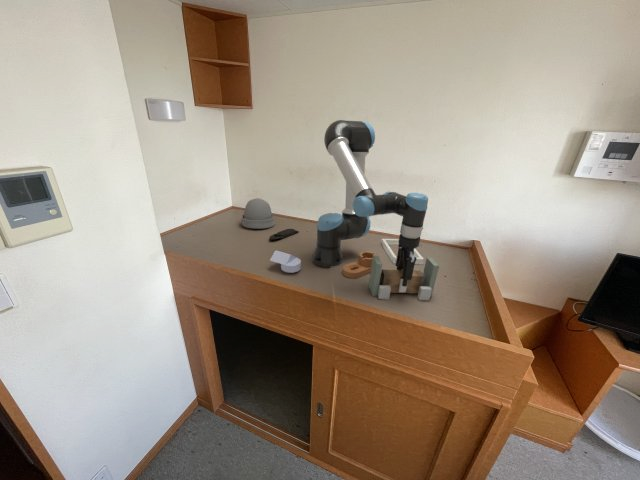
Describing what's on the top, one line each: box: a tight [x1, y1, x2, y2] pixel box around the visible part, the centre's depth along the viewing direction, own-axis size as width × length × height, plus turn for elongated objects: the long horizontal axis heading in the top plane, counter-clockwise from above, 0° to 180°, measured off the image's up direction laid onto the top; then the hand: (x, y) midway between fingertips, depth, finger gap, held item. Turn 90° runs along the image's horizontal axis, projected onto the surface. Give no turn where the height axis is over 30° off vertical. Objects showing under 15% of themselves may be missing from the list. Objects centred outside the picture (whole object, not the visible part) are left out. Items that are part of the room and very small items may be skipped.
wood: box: [269, 228, 300, 241], centre depth 159 cm, size 22×7×3 cm, turn 142°
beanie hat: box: [241, 197, 276, 230], centre depth 173 cm, size 21×21×20 cm
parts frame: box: [380, 238, 425, 265], centre depth 145 cm, size 15×25×3 cm, turn 2°
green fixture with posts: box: [368, 255, 440, 301], centre depth 108 cm, size 24×12×14 cm, turn 92°
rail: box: [379, 268, 425, 294], centre depth 109 cm, size 16×4×8 cm, turn 92°
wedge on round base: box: [269, 250, 302, 274], centre depth 124 cm, size 9×7×13 cm
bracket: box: [342, 250, 378, 279], centre depth 124 cm, size 18×8×7 cm, turn 128°
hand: (399, 287), depth 110 cm, fingers open, 5 cm apart
